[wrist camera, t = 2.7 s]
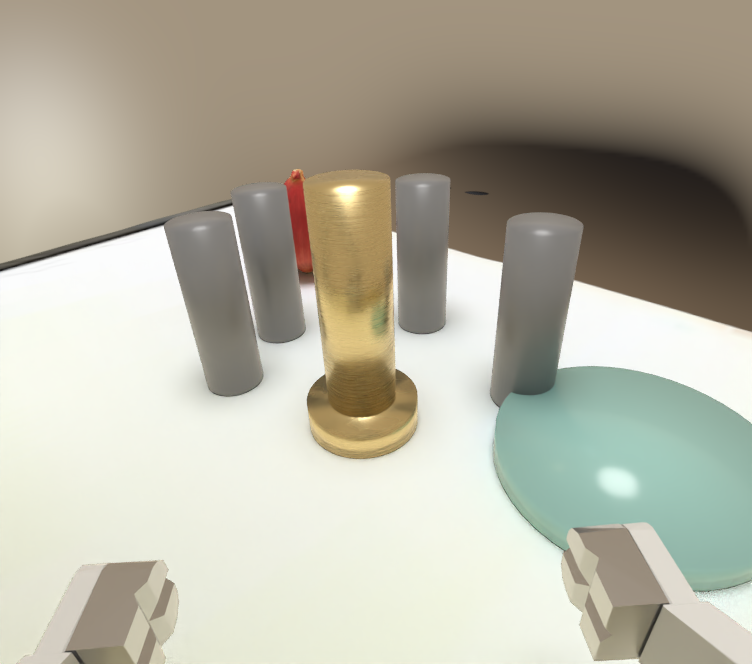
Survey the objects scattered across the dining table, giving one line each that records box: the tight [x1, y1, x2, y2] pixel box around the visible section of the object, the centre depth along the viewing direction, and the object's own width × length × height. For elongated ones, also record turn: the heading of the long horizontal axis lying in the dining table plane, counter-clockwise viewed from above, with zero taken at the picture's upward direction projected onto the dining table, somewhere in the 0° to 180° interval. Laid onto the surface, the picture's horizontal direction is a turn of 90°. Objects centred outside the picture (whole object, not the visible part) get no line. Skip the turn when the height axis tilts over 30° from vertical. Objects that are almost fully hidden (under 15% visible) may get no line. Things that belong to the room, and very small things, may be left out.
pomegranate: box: [284, 169, 313, 273], centre depth 37 cm, size 6×6×8 cm
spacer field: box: [164, 173, 583, 407], centre depth 26 cm, size 18×11×9 cm, turn 93°
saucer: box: [493, 366, 752, 591], centre depth 20 cm, size 11×11×1 cm
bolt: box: [303, 170, 417, 459], centre depth 21 cm, size 5×5×12 cm
